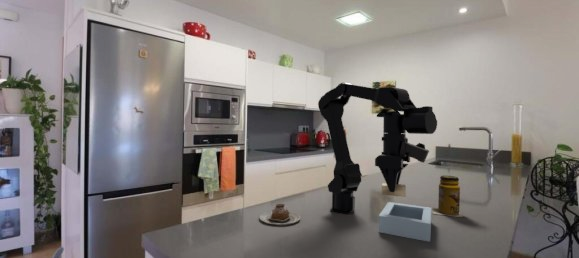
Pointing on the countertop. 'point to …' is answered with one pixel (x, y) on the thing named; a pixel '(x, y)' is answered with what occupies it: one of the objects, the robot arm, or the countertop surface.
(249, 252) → the countertop surface
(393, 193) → the block
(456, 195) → the condiment
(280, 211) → the pastry
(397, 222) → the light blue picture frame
